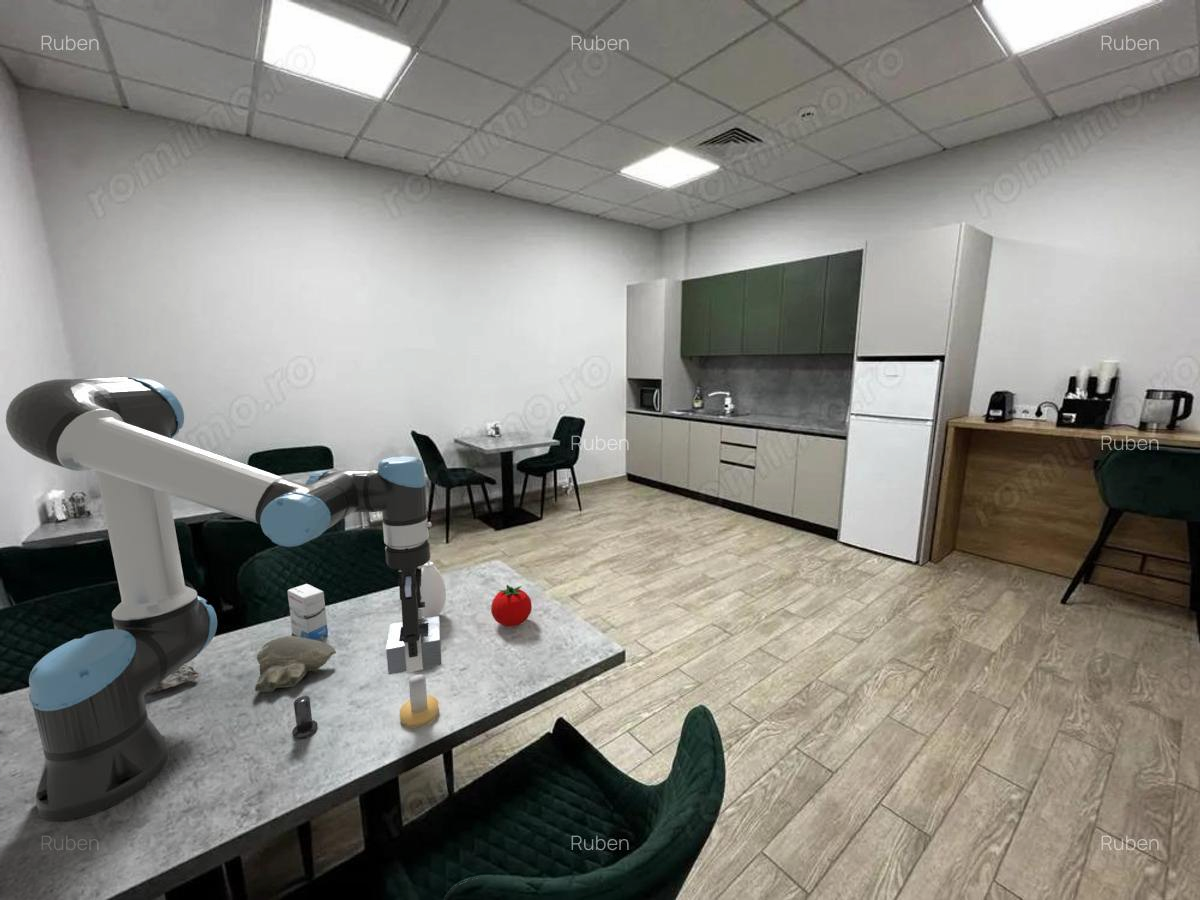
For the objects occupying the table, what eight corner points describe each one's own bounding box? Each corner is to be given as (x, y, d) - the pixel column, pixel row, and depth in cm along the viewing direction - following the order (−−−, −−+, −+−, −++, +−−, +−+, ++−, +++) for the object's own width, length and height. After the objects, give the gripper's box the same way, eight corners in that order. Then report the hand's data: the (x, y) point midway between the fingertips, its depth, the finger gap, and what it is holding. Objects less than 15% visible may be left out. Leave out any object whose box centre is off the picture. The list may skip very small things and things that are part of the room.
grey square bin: (388, 674, 87) (386, 649, 86) (392, 647, 95) (390, 623, 95) (441, 664, 90) (439, 639, 89) (440, 638, 98) (439, 615, 97)
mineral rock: (206, 677, 106) (203, 659, 105) (165, 701, 98) (162, 681, 98) (159, 666, 110) (155, 648, 109) (115, 688, 103) (112, 669, 102)
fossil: (271, 690, 107) (253, 701, 98) (262, 642, 109) (244, 649, 100) (341, 666, 112) (331, 674, 103) (332, 620, 114) (321, 625, 104)
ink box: (329, 634, 123) (324, 590, 121) (308, 643, 119) (303, 598, 116) (311, 624, 127) (306, 582, 125) (291, 633, 123) (285, 589, 121)
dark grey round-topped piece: (289, 741, 88) (286, 710, 87) (295, 725, 92) (292, 695, 91) (315, 736, 89) (311, 705, 88) (319, 721, 93) (316, 691, 92)
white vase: (441, 625, 127) (437, 559, 124) (411, 624, 127) (406, 559, 124) (450, 610, 135) (447, 548, 132) (422, 609, 135) (418, 548, 132)
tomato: (512, 609, 135) (511, 575, 133) (540, 621, 129) (539, 585, 127) (483, 625, 127) (481, 590, 125) (511, 639, 121) (510, 601, 119)
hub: (399, 730, 90) (396, 694, 89) (401, 706, 97) (398, 672, 96) (438, 722, 93) (436, 686, 91) (438, 698, 99) (436, 665, 98)
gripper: (428, 562, 80) (436, 686, 84) (429, 521, 100) (436, 623, 104) (378, 568, 77) (389, 695, 81) (390, 525, 98) (398, 629, 102)
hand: (415, 654), depth 93 cm, fingers closed on grey square bin, 9 cm apart
